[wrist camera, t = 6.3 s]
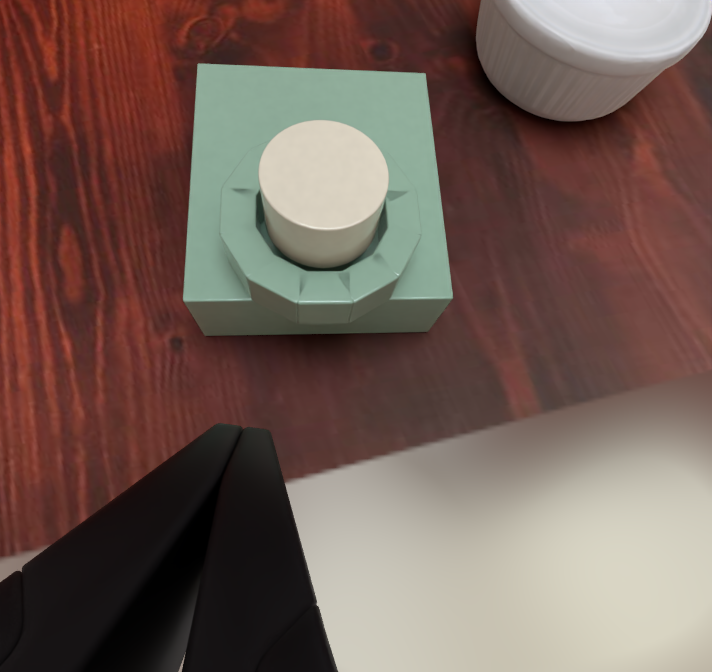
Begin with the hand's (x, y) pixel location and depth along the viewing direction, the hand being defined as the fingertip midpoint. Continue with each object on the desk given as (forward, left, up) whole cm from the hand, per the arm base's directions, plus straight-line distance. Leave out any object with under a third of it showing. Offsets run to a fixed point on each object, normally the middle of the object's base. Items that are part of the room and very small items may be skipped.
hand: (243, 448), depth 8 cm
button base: (+12, -2, -13) cm, 17 cm away
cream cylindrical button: (+9, -2, -7) cm, 11 cm away
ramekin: (+23, -16, -13) cm, 30 cm away
